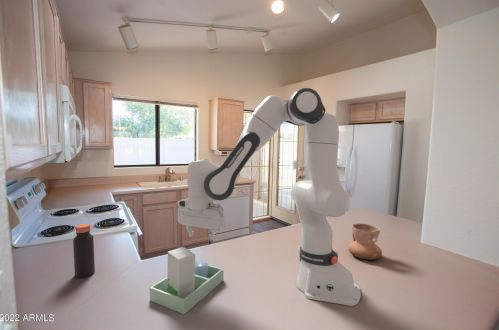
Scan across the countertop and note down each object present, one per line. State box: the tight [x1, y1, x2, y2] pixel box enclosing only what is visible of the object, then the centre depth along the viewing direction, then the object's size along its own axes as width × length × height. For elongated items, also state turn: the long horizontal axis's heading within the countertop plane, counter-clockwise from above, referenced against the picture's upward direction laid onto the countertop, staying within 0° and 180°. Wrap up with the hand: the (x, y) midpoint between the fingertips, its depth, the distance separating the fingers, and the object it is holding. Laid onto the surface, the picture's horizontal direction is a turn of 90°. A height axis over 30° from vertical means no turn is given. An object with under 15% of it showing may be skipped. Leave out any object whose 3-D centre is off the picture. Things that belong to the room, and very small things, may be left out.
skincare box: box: [166, 246, 196, 299], centre depth 84 cm, size 8×7×16 cm
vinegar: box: [72, 223, 96, 279], centre depth 99 cm, size 7×7×20 cm
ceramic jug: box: [348, 222, 383, 261], centre depth 117 cm, size 18×14×14 cm
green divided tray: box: [149, 260, 224, 315], centre depth 88 cm, size 15×22×4 cm
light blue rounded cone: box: [195, 261, 209, 278], centre depth 94 cm, size 5×5×6 cm
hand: (201, 237), depth 93 cm, fingers open, 8 cm apart
